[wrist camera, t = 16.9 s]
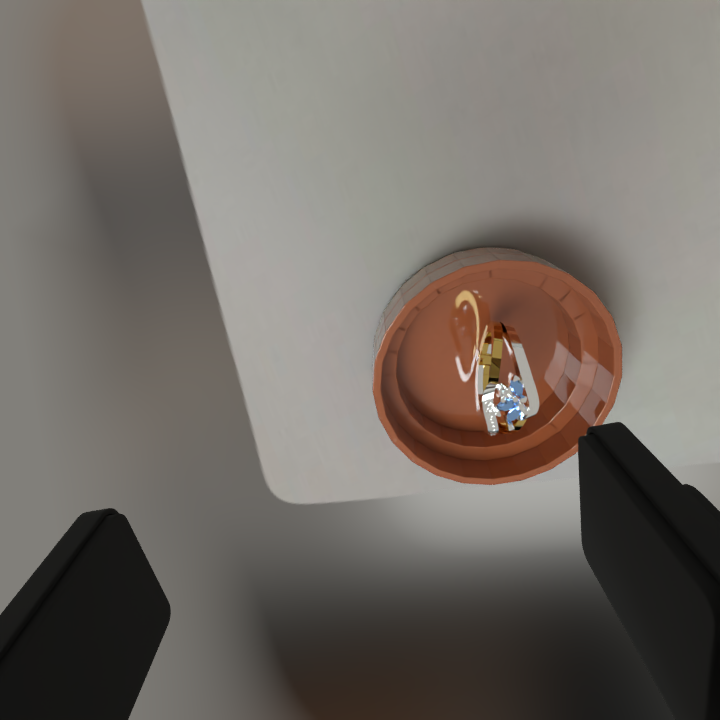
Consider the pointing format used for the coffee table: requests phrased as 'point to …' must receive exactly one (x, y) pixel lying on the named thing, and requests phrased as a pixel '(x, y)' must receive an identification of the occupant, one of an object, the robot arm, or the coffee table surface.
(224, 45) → the coffee table surface
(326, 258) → the coffee table surface
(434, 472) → the bowl
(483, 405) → the ring
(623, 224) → the coffee table surface
